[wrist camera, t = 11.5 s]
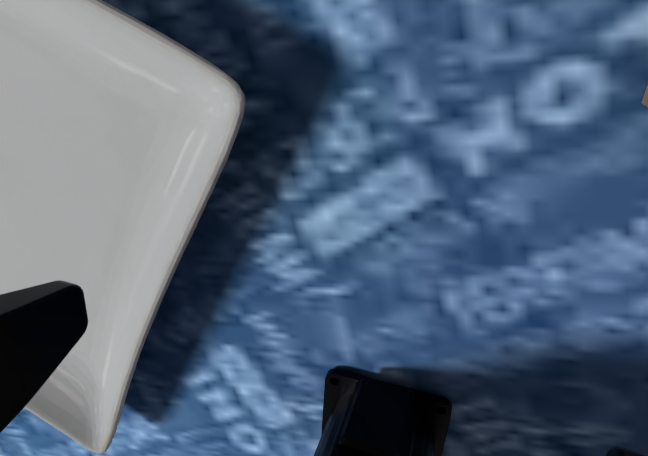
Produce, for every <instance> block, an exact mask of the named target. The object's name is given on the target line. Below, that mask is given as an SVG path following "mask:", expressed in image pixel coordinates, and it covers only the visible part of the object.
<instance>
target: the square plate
mask: <svg viewBox="0 0 648 456" xmlns="http://www.w3.org/2000/svg"><path fill="white" fill-rule="evenodd" d="M244 108H245V96H244V93H243V91H242V90H241V88H240V86H239V85H238V83H237V82H236V81H235V80H233V79H232V78H231V77H230V76H228V75H227V74H226V73H225V72H223V71H222V70H221V69H219V68H218V67H216V66H215V65H213V64H212V63H210V62H209V61H207V60H206V59H204V58H202V57H201V56H199V55H198V54H196V53H194V52H193V51H191V50H189V49H188V48H186V47H185V46H183V45H181V44H180V43H178V42H176V41H174V40H173V39H171V38H169V37H168V36H166V35H164V34H163V33H161V32H159V31H157V30H155V29H154V28H152V27H150V26H148V25H146V24H144V23H143V22H141V21H139V20H137V19H135V18H134V17H132V16H130V15H128V14H126V13H125V12H123V11H121V10H119V9H117V8H115V7H114V6H112V5H110V4H108V3H106V2H105V1H103V0H0V294H4V293H9V292H13V291H17V290H21V289H25V288H29V287H33V286H37V285H41V284H45V283H49V282H53V281H57V280H62V281H66V282H70V283H73V284H76V285H79V286H80V287H81V288H82V290H83V292H84V298H85V304H86V310H87V316H88V326H87V329H86V331H85V333H84V334H83V336H82V337H81V338H80V339H79V341H78V342H77V343H76V344H75V346H74V347H73V348H72V349H71V351H70V352H69V353H68V354H67V356H66V357H65V358H64V360H63V361H62V362H61V363H60V365H59V366H58V367H57V368H56V370H55V371H54V372H53V373H52V375H51V376H50V377H49V378H48V380H47V381H46V382H45V383H44V385H43V386H42V387H41V388H40V390H39V391H38V392H37V393H36V394H35V396H34V397H33V398H32V399H31V400H30V402H29V403H28V404H27V405H26V406H25V407H24V408H26V409H27V410H29V411H30V412H32V413H33V414H35V415H36V416H38V417H39V418H41V419H42V420H44V421H46V422H47V423H49V424H50V425H52V426H53V427H55V428H56V429H58V430H60V431H61V432H63V433H64V434H66V435H67V436H69V437H70V438H72V439H73V440H74V441H76V442H77V443H79V444H80V445H82V446H84V447H85V448H87V449H89V450H90V451H92V452H94V453H99V454H101V453H104V452H105V451H106V450H107V449H108V448H109V446H110V444H111V442H112V439H113V437H114V434H115V432H116V430H117V425H118V423H119V419H120V416H121V412H122V408H123V405H124V402H125V399H126V396H127V392H128V389H129V386H130V383H131V380H132V378H133V373H134V371H135V369H136V365H137V362H138V358H139V356H140V353H141V351H142V348H143V346H144V343H145V340H146V337H147V335H148V333H149V330H150V328H151V325H152V323H153V321H154V319H155V316H156V314H157V311H158V309H159V306H160V304H161V302H162V300H163V297H164V295H165V293H166V290H167V288H168V286H169V284H170V281H171V279H172V277H173V275H174V273H175V271H176V268H177V266H178V264H179V262H180V260H181V257H182V255H183V253H184V251H185V249H186V247H187V245H188V243H189V241H190V239H191V237H192V235H193V233H194V230H195V228H196V227H197V224H198V221H199V219H200V217H201V215H202V213H203V211H204V209H205V207H206V204H207V202H208V199H209V198H210V196H211V194H212V192H213V190H214V187H215V185H216V183H217V181H218V178H219V176H220V174H221V172H222V170H223V168H224V166H225V164H226V162H227V159H228V157H229V154H230V151H231V149H232V146H233V144H234V141H235V139H236V136H237V133H238V131H239V128H240V125H241V122H242V119H243V115H244Z"/></svg>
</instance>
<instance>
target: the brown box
mask: <svg viewBox="0 0 648 456" xmlns="http://www.w3.org/2000/svg"><path fill="white" fill-rule="evenodd" d="M641 103H642V104H643V105H645V106H647V107H648V85H647V88H646V91H645V93H644V96H643V99H642V102H641Z"/></svg>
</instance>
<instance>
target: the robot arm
mask: <svg viewBox="0 0 648 456" xmlns="http://www.w3.org/2000/svg"><path fill="white" fill-rule="evenodd" d="M87 326H88V316H87V310H86V304H85V298H84V292H83V290H82V288H81V287H80V286H79V285H76V284H73V283H70V282H66V281H62V280H57V281H53V282H49V283H45V284H41V285H37V286H33V287H29V288H25V289H21V290H17V291H13V292H9V293H4V294H0V433H1V432H2V430H3V429H4V428H5V427H6V426H7V425H8V424H9V423H10V422H11V421H12V420H13V419H14V418H15V417H16V416H17V415H18V414H19V413H20V411H21V410H22V409H23V408H24V407H25V406H26V405H27V404H28V403H29V402H30V400H31V399H32V398H33V397H34V396H35V394H36V393H37V392H38V391H39V390H40V388H41V387H42V386H43V385H44V383H45V382H46V381H47V380H48V378H49V377H50V376H51V375H52V373H53V372H54V371H55V370H56V368H57V367H58V366H59V365H60V363H61V362H62V361H63V360H64V358H65V357H66V356H67V354H68V353H69V352H70V351H71V349H72V348H73V347H74V346H75V344H76V343H77V342H78V341H79V339H80V338H81V337H82V336H83V334H84V333H85V331H86V329H87ZM333 377H334V378H337V379H338V380H335V379H334V378H333ZM438 406H442V407H444V408H439V407H438ZM451 411H452V404H451V402H450V401H449V400H448V399H447V398H444V397H441V396H438V395H434V394H430V393H426V392H423V391H419V390H415V389H411V388H407V387H404V386H400V385H396V384H392V383H388V382H385V381H381V380H377V379H373V378H370V377H366V376H362V375H358V374H354V373H351V372H347V371H343V370H339V369H330V370H329V371H328V373H327V375H326V378H325V391H324V406H323V421H322V436H321V439H320V441H319V444H318V446H317V449H316V451H315V454H314V456H441V455H442V451H443V447H444V442H445V438H446V434H447V429H448V425H449V421H450V417H451ZM606 456H646V455H644V454H642V453H639V452H636V451H632V450H629V449H626V448H622V447H619V446H614V447H612V448H611V449H610V450H609V451H608V452H607V454H606Z"/></svg>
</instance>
